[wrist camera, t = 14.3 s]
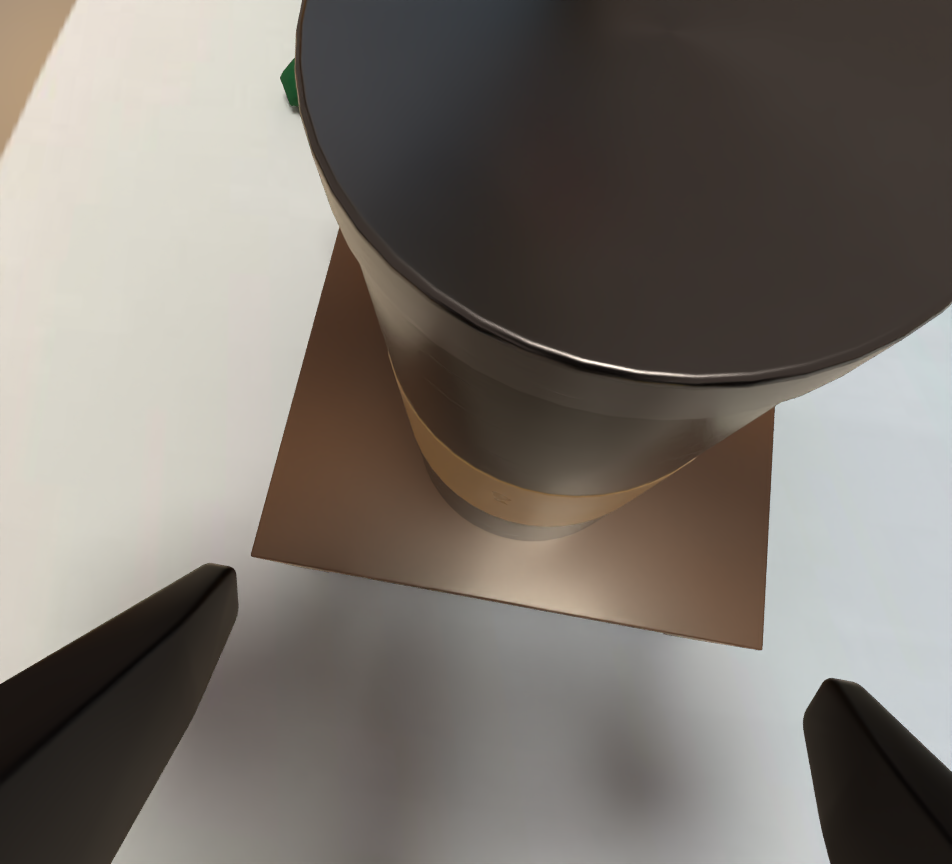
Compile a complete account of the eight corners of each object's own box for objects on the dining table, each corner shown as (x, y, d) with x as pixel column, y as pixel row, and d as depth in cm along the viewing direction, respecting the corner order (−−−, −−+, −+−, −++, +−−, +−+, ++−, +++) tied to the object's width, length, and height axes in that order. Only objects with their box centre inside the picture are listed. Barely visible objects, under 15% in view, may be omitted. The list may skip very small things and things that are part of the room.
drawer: (696, 640, 21) (853, 665, 13) (297, 566, 22) (185, 542, 13) (721, 323, 24) (860, 169, 16) (373, 266, 25) (321, 85, 16)
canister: (531, 596, 17) (712, 574, 4) (368, 426, 18) (136, 19, 5) (690, 432, 18) (1196, 43, 5) (528, 284, 19) (641, -312, 7)
